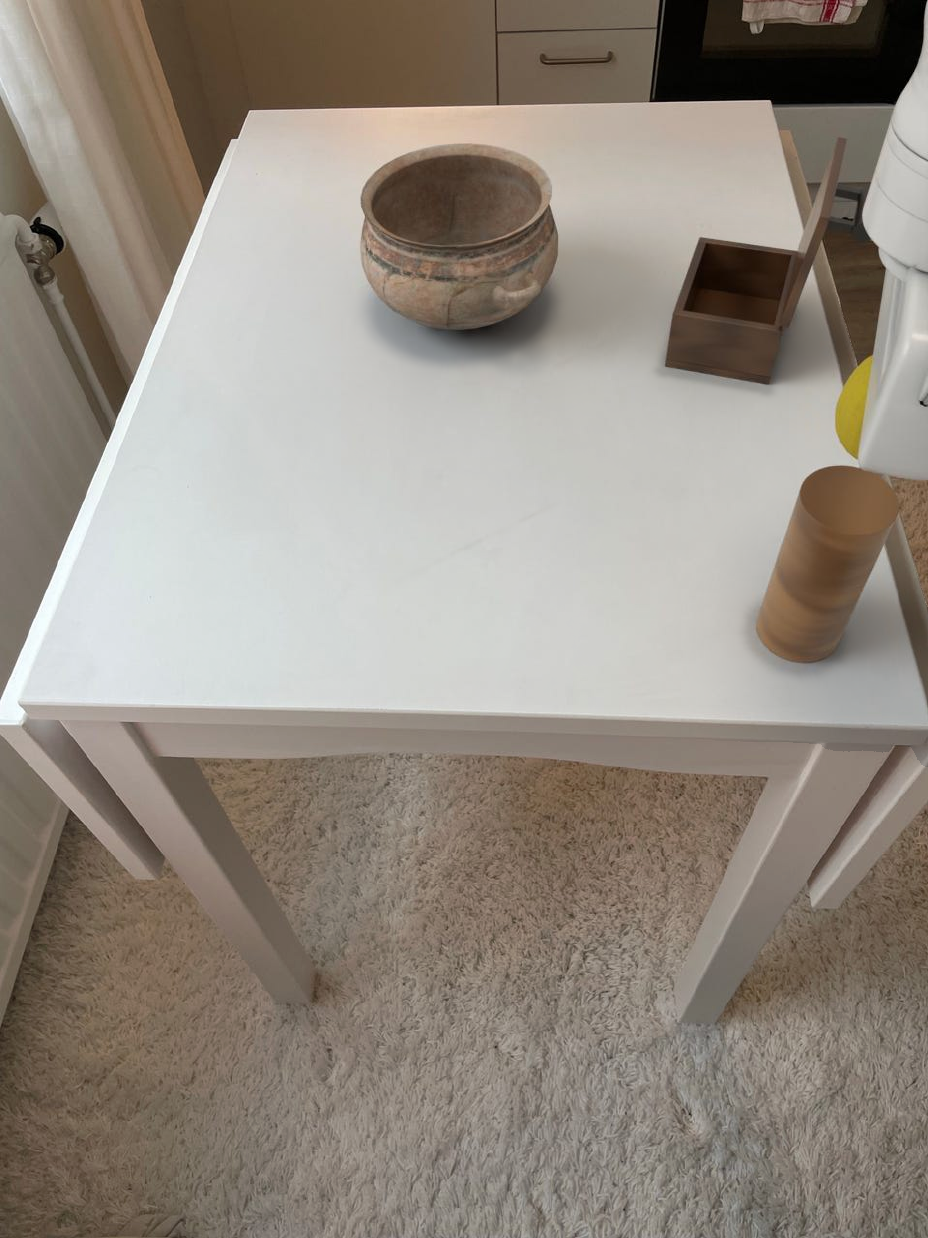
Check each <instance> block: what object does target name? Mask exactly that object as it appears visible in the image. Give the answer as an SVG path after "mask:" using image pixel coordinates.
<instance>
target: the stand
mask: <svg viewBox="0 0 928 1238" xmlns="http://www.w3.org/2000/svg"><path fill="white" fill-rule="evenodd" d="M791 512H792V513H791V514H790V519H789V521H788V524H787V527H786V530H785V533H784V536H783V539H782V542H781V545H780V548H779V551H778V554H777V558H776V561H775V563H774V566H773V569H772V571H771V576H770V579H769V581H768V584H767V588H766V591H765V593H764V596H763V599H762V602H761V606H760V609H759V612H758V614H757V617H756V623H755V627H756V632H757V635H758V637H759V639H760V641H761V643H762V644H763V645H764V646H765V647H766V648H767V649H768V650H769V651H770V652H772V653H773V654H774V655H776V656H778V657H779V658H782V659H784V660H787V661H790V662H795V663H800V664H801V663H802V664H804V663H815V662H818V661H821V660H824V659H825V658H828V657H829V656H830V655H831V654H833V652H835V650H836V649H837V647H838V645H839V643H840V641H841V638H842V636H843V635H844V632H845V629H846V628H847V626H848V623H849V621H850V619H851V617H852V615H853V612H854V610H855V609H856V607H857V604H858V602H859V599H860V597H861V595H862V593H863V591H864V589H865V586H866V585H867V583H868V580H869V578H870V576H871V574H872V572H873V569H874V567H875V565H876V564H877V561H878V559H879V557H880V555H881V552H882V550H883V548H884V546H885V544H886V541H887V539H888V537H889V535H890V533H891V531H892V528H893V526H894V524H895V522H896V520H897V518H898V516H899V512H900V501H899V498H898V495H897V493H896V492H895V489H893V487H892V486H891V485H890V483H888V482H887V481H886V480H885V479H883V478H882V477H881V476H879V475H878V474H877V473H874V472H869V471H864V470H862V469H861V468H860V467H857V466H851V465H843V464H842V465H830V466H825V467H821V468H818V469H817V470H814V471H813V472H811V473H809V475H808V476H806V477H805V478H804V480H803V482H802V483H801V486H800V489H799V491H798V495H797V498H796V501H795V503H794V507H793V509H792V511H791Z"/></svg>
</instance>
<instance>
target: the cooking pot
mask: <svg viewBox="0 0 928 1238" xmlns="http://www.w3.org/2000/svg"><path fill="white" fill-rule="evenodd" d="M552 197H553V185H552V182H551V179H550V176H549V175H548V174H547V172H546V170H545V169H544V168H543V167H542V166H541V165H539V164H538V163H537V162H536V161H534V160H533V159H531V158H529V156H526V155H524V154H522V153H520V152H517V151H515V150H511V149H509V148H504V147H501V146H496V145H491V144H483V143H482V144H481V143H449V144H448V143H447V144H438V145H433V146H429V147H423V148H420V149H416V150H412V151H410V152H407V153H405V154H402V155H400V156H398V157H396V158H393V159H392V160H390V161H388V162H387V163H385V164H383V165H382V166H380V167H379V168H378V169H376V170H375V171H374V172H373V173H372V175H370V177H369V178H368V179H367V180H366V181H365V184H364V186H363V187H362V189H361V194H360V208H361V209H362V213H363V215H364V220H363V223H362V228H361V234H360V242H359V249H360V252H359V253H360V261H361V266H362V269H363V272H364V274H365V277H366V281H367V282H368V284H369V285H370V287H371V288H372V290H373V291H374V292H375V294H376V295H377V297H378V298H379V299H380V300H381V301H382V302H383V303H384V304H385V305H386V306H387V307H388V308H389V309H390V310H392V311H393V312H395V313H396V314H398V315H399V316H401V317H403V318H405V319H406V320H408V321H411V322H414V323H416V324H419V325H422V326H427V327H430V328H434V329H439V330H440V329H441V330H448V331H449V330H453V331H454V330H458V331H459V330H472V329H478V328H482V327H487V326H491V325H494V324H497V323H500V322H502V321H505V320H506V319H509V318H511V317H512V316H515V315H516V314H518V313H520V312H521V311H522V310H523V309H525V308H527V307H528V306H529V305H530V304H531V303H532V302H533V301H534V300H535V299H536V298H537V297H538V296H540V294H541V293H542V291H543V290H544V289H545V286H546V285H547V283H548V282H549V280H550V278H551V276H552V274H553V272H554V269H555V266H556V263H557V259H558V256H559V233H558V228H557V225H556V221H555V217H554V213H553V210H552V208H551V205H550V202H551V200H552Z"/></svg>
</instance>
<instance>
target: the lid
mask: <svg viewBox="0 0 928 1238" xmlns="http://www.w3.org/2000/svg"><path fill="white" fill-rule="evenodd" d="M847 142H848V139H847V138H845V137H840V136H838V137H837V139H836V141H835V144H834V147H833V149H832V153H831V154H830V158H829V160H828V163H827V166H826V169H825V172H824V175H823V177H822V180H821V182H820V186H819V188H818V191H817V194H816V196H815V200H814V202H813V205H812V208H811V211H810V213H809V216H808V219H807V222H806V223H805V227H804V230H803V232H802V236H801V237H800V242H799V243H798V247H797V250H796V251H797V255H796V259H795V263H794V267H793V271H792V275H791V279H790V283H789V288H788V292H787V296H786V300H785V304H784V308H783V312H782V316H781V320H780V324H779V326H782V327H783V328H786V329H788V328H789V327H790V325H791V322H792V320H793V317H794V314H795V312H796V309H797V307H798V304H799V301H800V298H801V295H802V293H803V290H804V288H805V286H806V282H807V280H808V278H809V275H810V272H811V269H812V266H813V264H814V261H815V259H816V256H817V254H818V251H819V248H820V246H821V243H822V240H823V238H824V236H825V233H826V230H827V229H829V230H830V229H831V230H835V231H838V232H839V231H840V232H843V233H849V234H850V237H851V239H852V241H854V242H855V243H857V244H864V243H868V242H870V241H872V239H871V238H870V237H869V235H868V234H867V232H866V230H865V227H864V224H863V218H862V213H863V208H864V205H865V201H866V198H867V195H868V192H869V188H870V185H871V183H870V184H866V185H864V186H863V187H861V188H855V187H850V186H846V185H841V184H839V178H840V174H841V169H842V165H843V161H844V156H845V151H846V147H847ZM835 197H837V198H842V199H846V200H851V201H855V202H856V204H855V209H854V210H855V211H854V214H853V219H852V220H849V219H845V218H841V217H835V216H832V210H833V206H834V201H835Z"/></svg>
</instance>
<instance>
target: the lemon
mask: <svg viewBox="0 0 928 1238" xmlns="http://www.w3.org/2000/svg"><path fill="white" fill-rule="evenodd" d="M872 359H873V354H871V355H870V356H868V357H867V358H865V359H863V361H862V362H861V363H860V364H859V365H858V366H857V367H856V368H855V369H854V370H853V371H852V373H851V374H850V376H849V377H848V379H847V380H846V382H845V383H844V385H843V387H842V390H841V392H840V394H839V397H838V399H837V402H836V406H835V413H834V420H835V421H834V425H835V426H834V428H835V432H836V435H837V438H838V441H839V443H840V445H841V446H842V447H843V449H844V450H845V451H846V453H848V454H849V455H850V456H851V457H852V458H854V459H855V460H857V461H858V452H859V445H860V438H861V432H862V425H863V418H864V412H865V405H866V398H867V392H868V385H869V379H870V372H871V365H872Z"/></svg>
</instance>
